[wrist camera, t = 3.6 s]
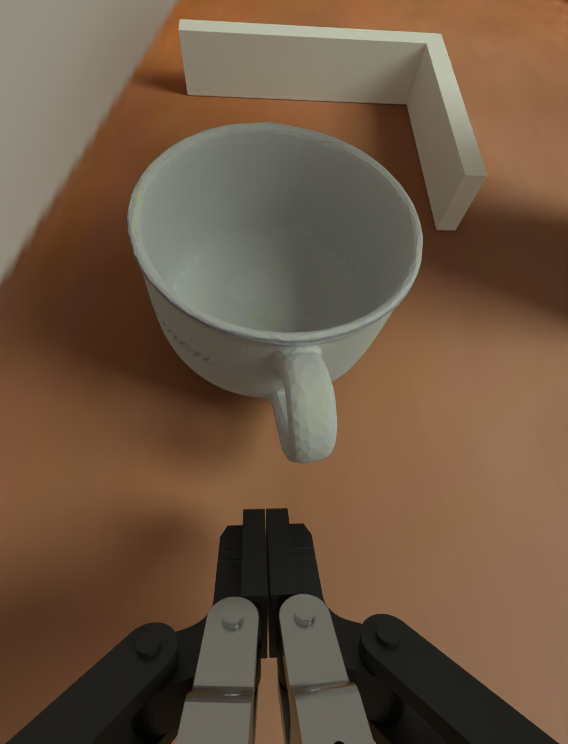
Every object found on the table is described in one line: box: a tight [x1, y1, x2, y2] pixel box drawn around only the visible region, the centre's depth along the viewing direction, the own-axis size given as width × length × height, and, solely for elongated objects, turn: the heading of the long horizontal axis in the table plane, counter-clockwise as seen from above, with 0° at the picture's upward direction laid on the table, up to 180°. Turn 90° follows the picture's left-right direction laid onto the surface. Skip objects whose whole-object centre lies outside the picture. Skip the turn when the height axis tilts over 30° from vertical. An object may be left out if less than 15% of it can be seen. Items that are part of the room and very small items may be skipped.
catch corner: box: [179, 19, 487, 231], centre depth 27 cm, size 17×13×4 cm
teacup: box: [127, 122, 423, 463], centre depth 18 cm, size 14×11×8 cm
